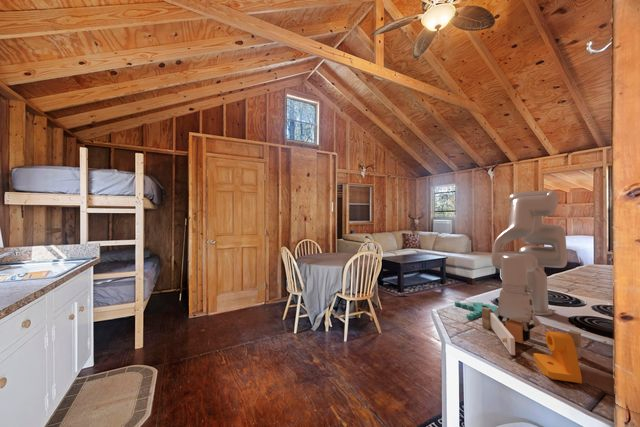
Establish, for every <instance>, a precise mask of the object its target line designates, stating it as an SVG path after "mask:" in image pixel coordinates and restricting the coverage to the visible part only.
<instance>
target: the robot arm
mask: <svg viewBox="0 0 640 427" xmlns="http://www.w3.org/2000/svg"><path fill="white" fill-rule="evenodd" d="M559 198H560V197H559V194H558V193H557V192H556V190H552V189H551V190H550V189H549V190H547V189H546V190H534V191H521V192H514V193H511V194H510V195H509V197H508V202H509V205H510V206H509V207H510V208H509V209H510V210H509V218H508V227H507V228H506V229H505V230H504V231H502V232H501V233H500V234H499V235H498V236H497V237H496V238H495V240H494V241H493V245H492V251H491V264H492V266H493V267H494V268H495V269H498V270H501V287H502V288H501V289H500V290H499V297H498V306H497V307H498V308H497V309H495V310H494V311H493V313H494V314H495V315H496V316H498V318H499V319H500V320H501V321H500V322H501V323H502V324H503V325H504V326H505V322H506V321H508V320H510V319H513V320H517V321H521V322H522V324H523V327H524V330H523V341H524V342H523V343H526V342H528V341H527V340H529V339H530V337H531V332H530V331H531V330H532V329H534V328H537V327H539V326H541V325H542V322H541V321H540V320H539V319H538V317H537V316H552V315H553V314H554V313H553V312H554V311H553V310H552V309H550V308H549V297H548V296H549V295H548V294H549V292H548V291H549V290H548V288H549V287H548V276H547V273H546V272H545V271H544V270H543V269H542V268H541V267H545V268H554V269H555V268H556V269H557V268H558V269H560V268H561V269H562V268H565V267H566V266H567V265H568V252H567V238H566V231H565V228H564V227H563V226H561V225H559V224H544V222H543V217H550V216H554V215H555V213H556V210H557V208H558V206H559V203H560V199H559ZM519 239H521V240H522V241H521V242H523V243H524V244H526V245H525V246H522V247H520V248H519V250H518V251H513V250H512V251H511V250H503V248H504V246H506V245H507V244H508V243H510V242H512V241H516V240H519ZM527 244H529V245H527ZM540 245H541V246H540ZM536 315H537V316H536ZM532 321H533V323H531V322H532Z"/></svg>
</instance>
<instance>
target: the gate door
mask: <svg viewBox="0 0 640 427" xmlns="http://www.w3.org/2000/svg"><path fill="white" fill-rule="evenodd" d="M490 326H491V328H492V329H491V330H492V331H493V332H494V333H495V335H496V336H497V337H498V339H499V340H500V341H501V343H502V344H503V347H505V348H506V349H507V352H508V353H509V354H510V356H516V341H515V338H514V337H513V336H512V335H511V333H510V332H509V331H508V330H507V329H506V327H505V326H504V325H503V324H502V321H500V320H499V319H498V318H497V317H496V316H495V314H494V313H490Z"/></svg>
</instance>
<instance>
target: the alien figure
mask: <svg viewBox="0 0 640 427" xmlns="http://www.w3.org/2000/svg"><path fill="white" fill-rule="evenodd" d="M454 306H455V307H460V308H461V309H467V310H468V311H473V312H469V313H467V314H466V319H467V320H468V321H474V319H478V318H481V316H482V308H484V307H486V308H490V309H491V313H493V311H494V310H495V309H497V308H498V307H499V306H496V305H491V304H489V303H488V304H487V303H483V302H472V304H466V303H462V302H460V301H454ZM495 316H496V315H495ZM496 317H497V318H498V316H496ZM498 319H499V318H498ZM499 320H500V319H499ZM500 322H502V321H501V320H500Z"/></svg>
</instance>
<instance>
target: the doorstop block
mask: <svg viewBox="0 0 640 427" xmlns="http://www.w3.org/2000/svg"><path fill="white" fill-rule="evenodd" d="M505 327H506V329H507V330H508V331H509V332H510V333H511V335H512V336H513V337H514V338H515V343H520V344H524V343H525V342H524V341H523V330H524V327H523V324H522V322H521V321H517V320H513V319H509V320H508V321H506V322H505Z"/></svg>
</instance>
